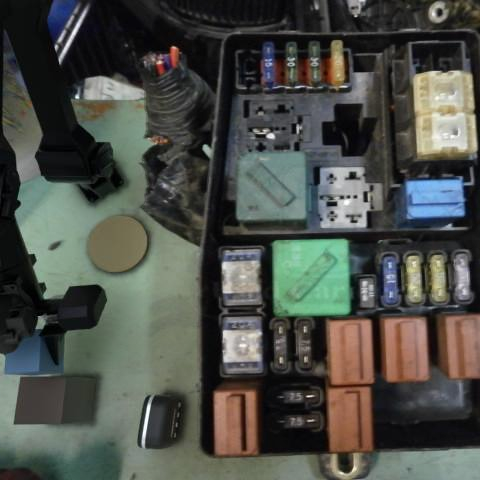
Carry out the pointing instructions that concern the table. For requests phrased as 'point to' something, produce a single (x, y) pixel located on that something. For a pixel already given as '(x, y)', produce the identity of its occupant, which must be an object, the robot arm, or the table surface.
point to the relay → (32, 358)
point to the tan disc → (117, 244)
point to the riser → (54, 400)
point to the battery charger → (159, 421)
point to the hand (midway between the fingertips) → (41, 364)
